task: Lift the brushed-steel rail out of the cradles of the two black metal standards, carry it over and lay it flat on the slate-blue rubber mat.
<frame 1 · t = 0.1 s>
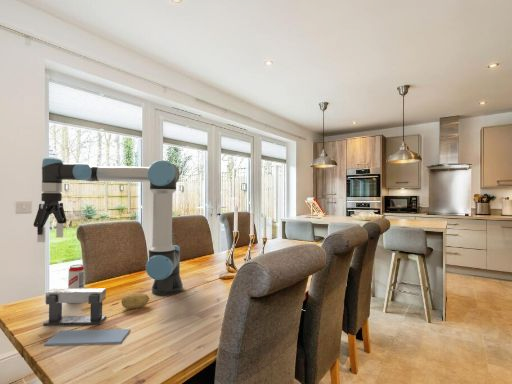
hand: (50, 239, 132), 28 cm above the table, fingers open, 13 cm apart
mat: (89, 337, 100), on the table
rail: (76, 300, 112), point 8 cm above the table, touching standards
potato: (135, 308, 127), on the table
beer can: (76, 301, 133), on the table
standards: (75, 321, 112), on the table
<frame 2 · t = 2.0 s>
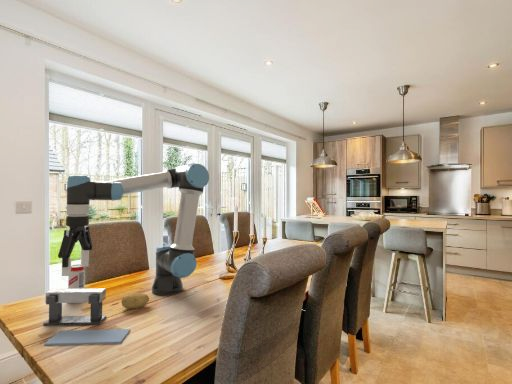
hand: (76, 271, 112), 19 cm above the table, fingers open, 13 cm apart
nothing on the table moved.
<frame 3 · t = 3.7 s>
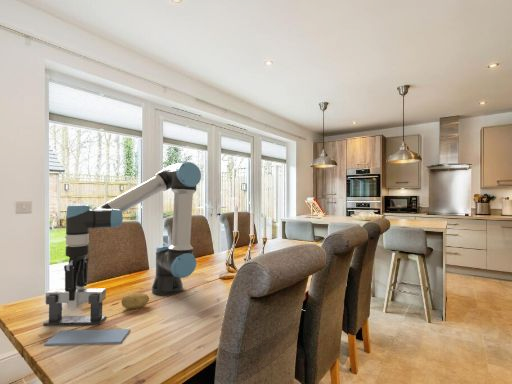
hand: (76, 305, 112), 6 cm above the table, fingers closed on rail, 4 cm apart
rail: (76, 300, 112), point 8 cm above the table, touching gripper, standards
everything else where it was.
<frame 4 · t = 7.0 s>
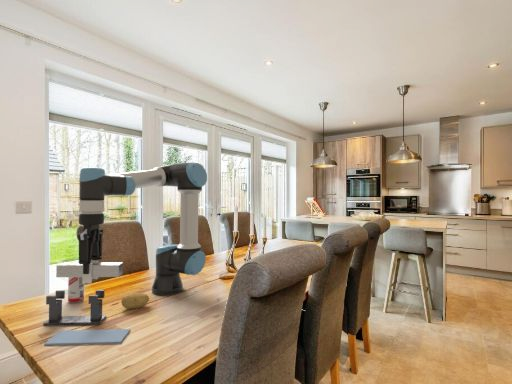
hand: (90, 280, 100), 19 cm above the table, fingers closed on rail, 4 cm apart
rail: (90, 275, 100), point 21 cm above the table, touching gripper
everything else where it was.
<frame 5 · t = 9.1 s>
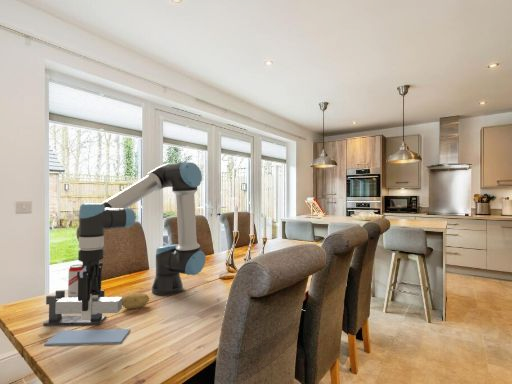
hand: (89, 316, 100), 7 cm above the table, fingers closed on rail, 4 cm apart
rail: (89, 311, 100), point 9 cm above the table, touching gripper
everything else where it was.
when the fingers open (1 cm above the table, at t = 10.6 s): rail drops 2 cm, resting on mat.
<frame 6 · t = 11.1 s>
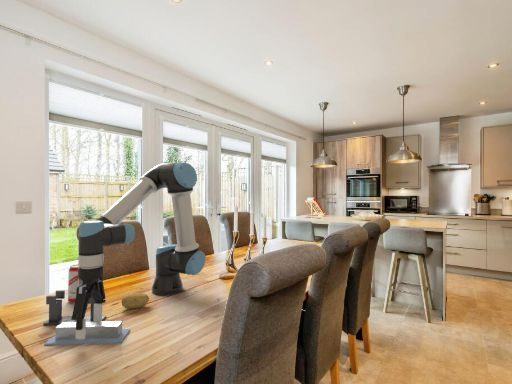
hand: (89, 329, 100), 3 cm above the table, fingers open, 11 cm apart
rail: (89, 335, 100), point 1 cm above the table, touching mat
everything else where it was.
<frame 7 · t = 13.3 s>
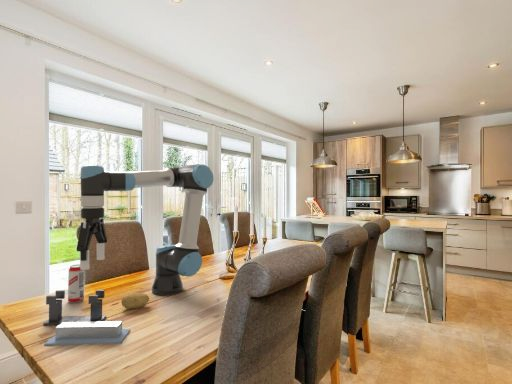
hand: (93, 264, 109), 23 cm above the table, fingers open, 13 cm apart
nothing on the table moved.
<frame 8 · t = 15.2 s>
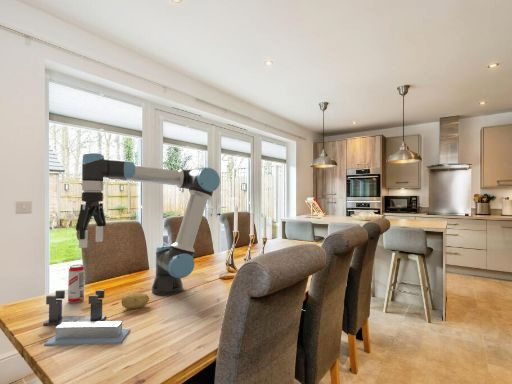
hand: (91, 244, 118), 29 cm above the table, fingers open, 13 cm apart
nothing on the table moved.
at the end: rail inside the target area on the mat (0.1 cm from its centre), point 0.6 cm above the mat's base; rail touching mat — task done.
